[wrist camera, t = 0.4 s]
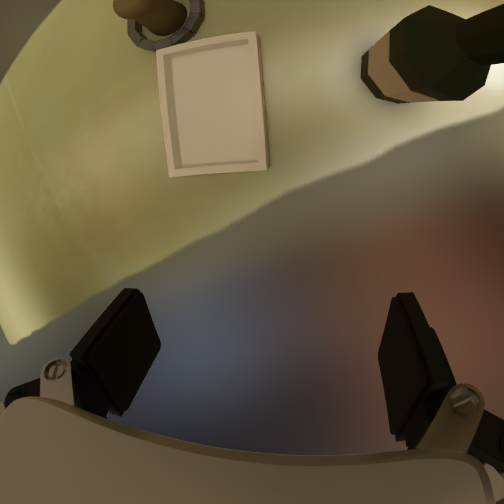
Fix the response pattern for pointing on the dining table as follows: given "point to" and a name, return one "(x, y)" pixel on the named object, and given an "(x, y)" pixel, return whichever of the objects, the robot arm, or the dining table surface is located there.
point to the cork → (153, 14)
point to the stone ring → (177, 38)
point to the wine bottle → (435, 56)
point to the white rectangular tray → (213, 105)
